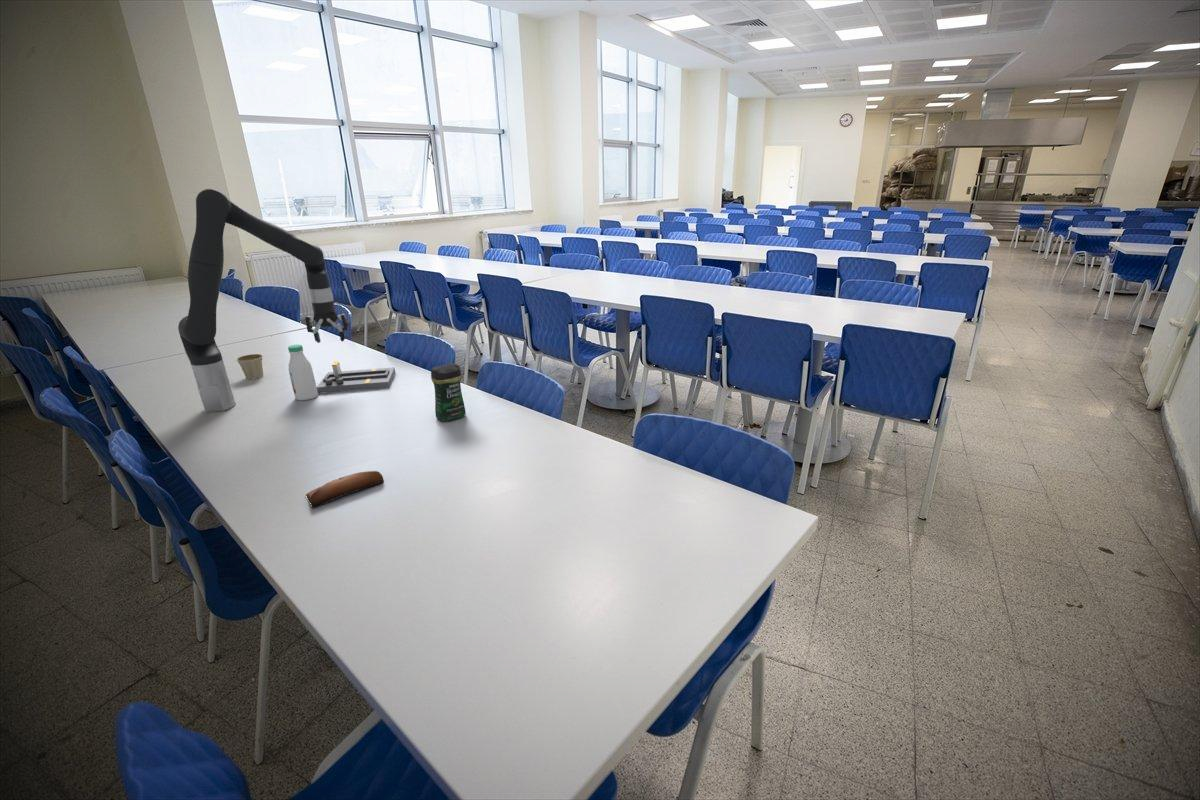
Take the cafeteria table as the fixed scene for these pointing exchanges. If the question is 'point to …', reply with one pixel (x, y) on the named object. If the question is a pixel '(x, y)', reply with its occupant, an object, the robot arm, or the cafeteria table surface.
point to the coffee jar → (448, 392)
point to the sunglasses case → (343, 487)
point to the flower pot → (251, 365)
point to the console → (357, 380)
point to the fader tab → (336, 369)
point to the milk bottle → (301, 374)
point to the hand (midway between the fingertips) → (330, 341)
